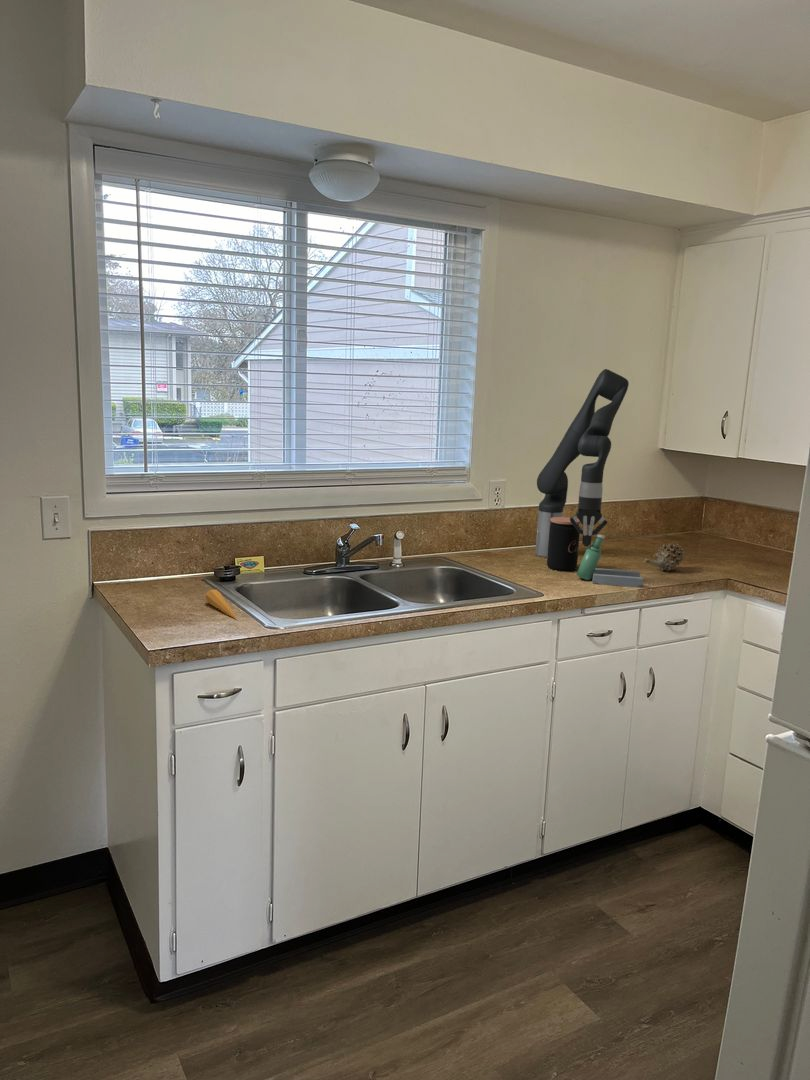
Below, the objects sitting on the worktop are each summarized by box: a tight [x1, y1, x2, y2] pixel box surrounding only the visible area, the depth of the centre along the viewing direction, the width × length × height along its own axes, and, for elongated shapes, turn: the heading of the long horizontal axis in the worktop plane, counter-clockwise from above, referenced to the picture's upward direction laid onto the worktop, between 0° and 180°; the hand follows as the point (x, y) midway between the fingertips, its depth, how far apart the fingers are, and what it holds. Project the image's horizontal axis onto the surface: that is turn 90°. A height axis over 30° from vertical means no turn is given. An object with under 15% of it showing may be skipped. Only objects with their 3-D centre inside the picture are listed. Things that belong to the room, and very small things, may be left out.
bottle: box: [576, 532, 606, 581], centre depth 279 cm, size 5×5×16 cm
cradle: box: [591, 567, 644, 589], centre depth 279 cm, size 16×11×3 cm
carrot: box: [205, 589, 237, 620], centre depth 227 cm, size 20×4×4 cm, turn 33°
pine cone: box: [643, 542, 685, 572], centre depth 297 cm, size 22×10×10 cm, turn 135°
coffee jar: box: [546, 516, 581, 572], centre depth 294 cm, size 11×11×18 cm
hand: (586, 546), depth 279 cm, fingers closed
